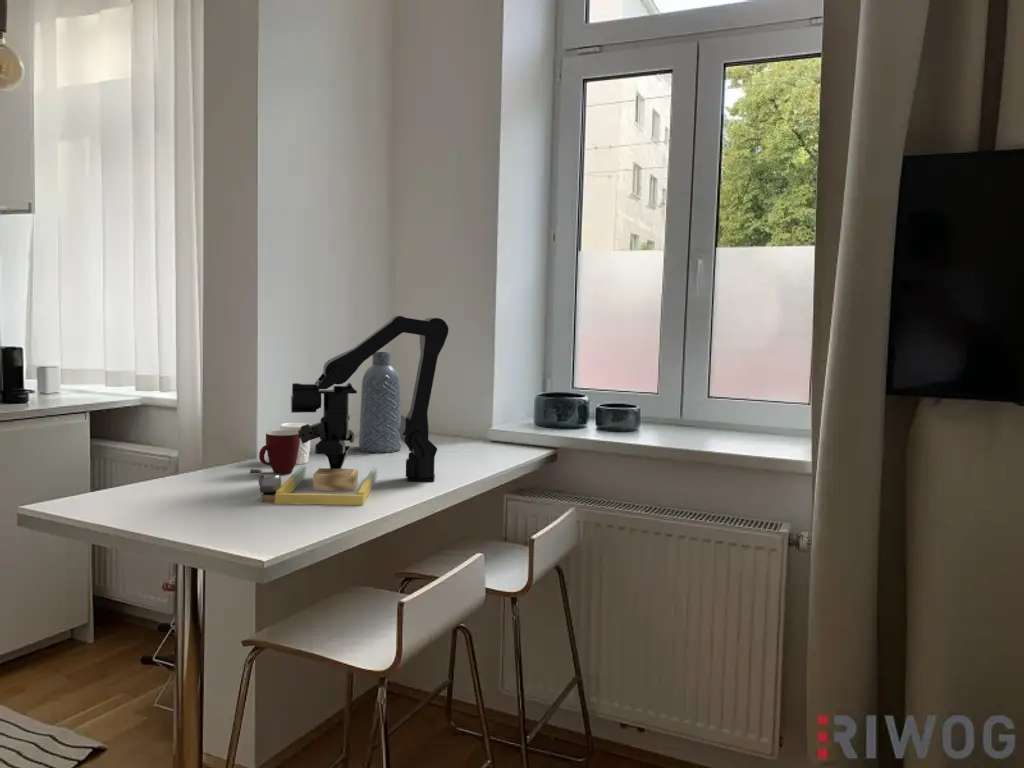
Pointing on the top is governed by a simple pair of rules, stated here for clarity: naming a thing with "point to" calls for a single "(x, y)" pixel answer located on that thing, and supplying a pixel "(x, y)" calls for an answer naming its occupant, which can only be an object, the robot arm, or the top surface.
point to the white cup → (303, 447)
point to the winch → (268, 485)
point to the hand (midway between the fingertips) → (335, 477)
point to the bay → (287, 497)
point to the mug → (281, 450)
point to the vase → (380, 407)
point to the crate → (335, 479)
